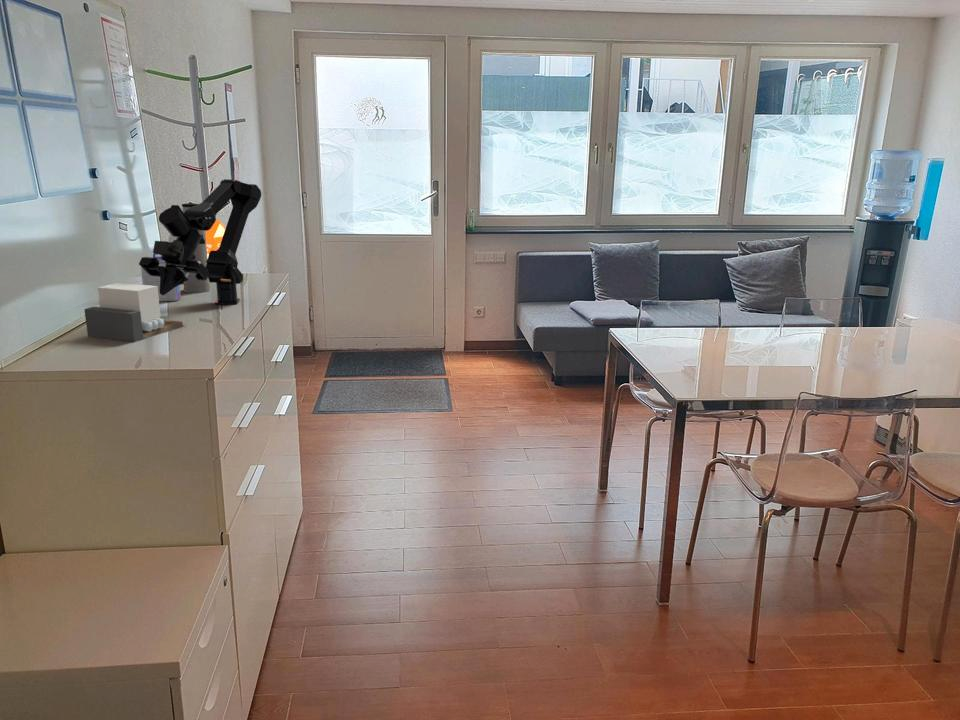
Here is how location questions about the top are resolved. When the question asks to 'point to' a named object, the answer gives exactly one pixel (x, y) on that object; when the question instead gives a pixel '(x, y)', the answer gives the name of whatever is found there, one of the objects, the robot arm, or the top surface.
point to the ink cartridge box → (155, 281)
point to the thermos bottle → (201, 255)
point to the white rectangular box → (134, 302)
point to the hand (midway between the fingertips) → (161, 294)
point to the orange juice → (214, 236)
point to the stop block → (114, 324)
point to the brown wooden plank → (163, 328)
